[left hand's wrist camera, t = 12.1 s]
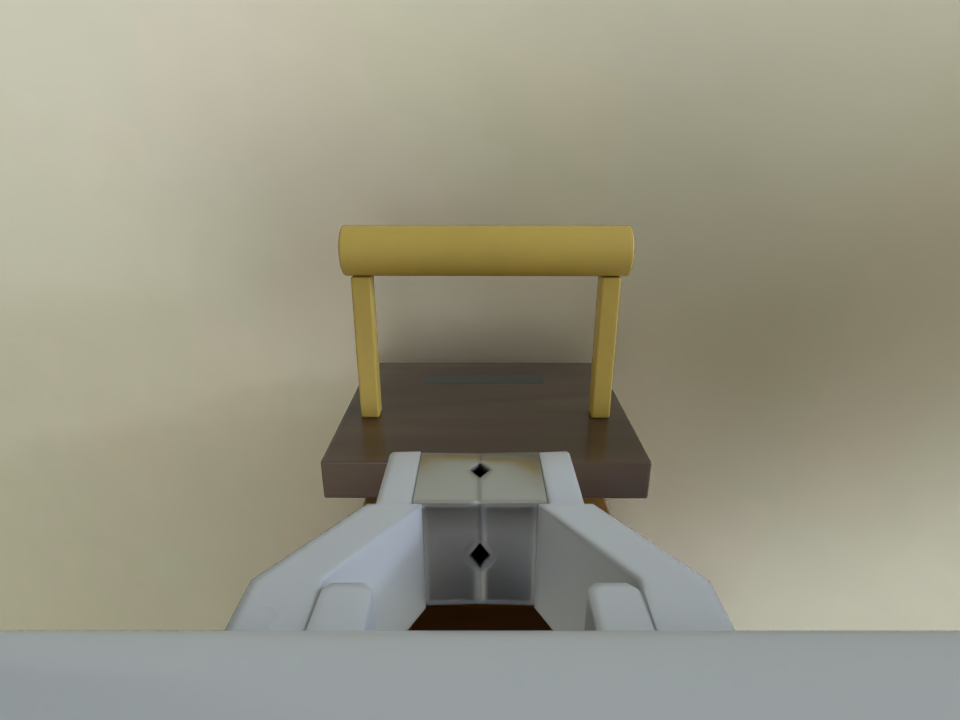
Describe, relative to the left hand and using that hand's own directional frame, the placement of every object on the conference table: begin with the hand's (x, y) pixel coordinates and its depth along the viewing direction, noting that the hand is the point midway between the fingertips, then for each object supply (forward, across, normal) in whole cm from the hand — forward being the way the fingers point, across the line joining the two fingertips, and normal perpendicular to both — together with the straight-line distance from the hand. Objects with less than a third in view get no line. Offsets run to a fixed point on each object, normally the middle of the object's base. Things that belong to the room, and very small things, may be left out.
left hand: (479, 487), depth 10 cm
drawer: (+14, 0, -6) cm, 15 cm away
